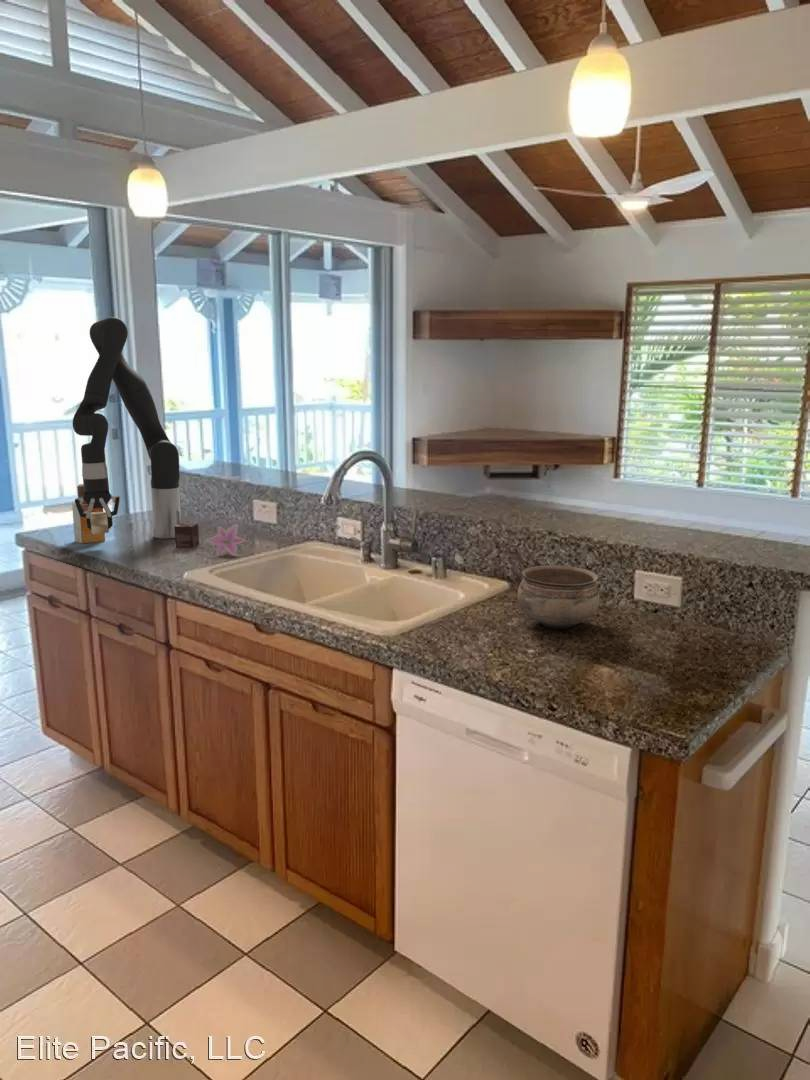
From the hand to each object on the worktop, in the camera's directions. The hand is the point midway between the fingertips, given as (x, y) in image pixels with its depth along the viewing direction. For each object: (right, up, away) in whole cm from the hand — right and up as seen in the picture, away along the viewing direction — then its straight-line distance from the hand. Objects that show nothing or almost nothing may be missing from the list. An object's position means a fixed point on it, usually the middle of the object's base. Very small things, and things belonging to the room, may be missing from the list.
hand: (100, 528), depth 259 cm
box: (+27, -6, +6) cm, 28 cm away
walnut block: (-8, +9, +9) cm, 14 cm away
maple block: (0, -1, 0) cm, 1 cm away
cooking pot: (+134, -24, -70) cm, 153 cm away
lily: (+42, -8, -4) cm, 43 cm away
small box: (-8, -4, +11) cm, 14 cm away
